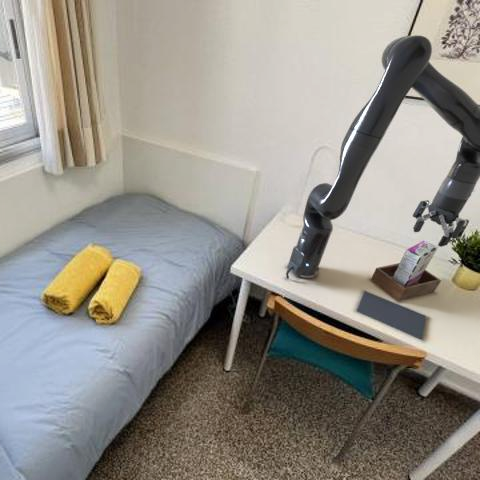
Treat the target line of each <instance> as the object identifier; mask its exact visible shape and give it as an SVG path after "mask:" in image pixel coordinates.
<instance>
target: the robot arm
mask: <svg viewBox="0 0 480 480" xmlns="http://www.w3.org/2000/svg"><path fill="white" fill-rule="evenodd" d="M432 53H433V45H432V42H431V41H430V39H429V38H428V37H426V36H423V35H421V34H420V35H419V34H417V35H414V34H413V35H405V36H401V37H398V38H395V39H394V40H392V41H391V42H390V43H389V44H387V46H386V47H385V48H384V50H383V52H382V54H381V66H382V69H383V70H384V72H383V75H382V77H381V79H380V81H379V83H378V85H377V88H375V89H376V90H375V91H374V93H373V94H372V96H371V97H370V99H368V101H367V102H366V103H365V104H364V106H363V107H362V108H361V109H360V110H359V112H358V113H357V114H356V116H355V117H354V119H353V120H352V122H351V123H350V125H349V127H348V129H347V131H346V133H345V135H344V137H343V140H342V142H341V145H340V149H339V150H340V151H339V161H338V171H337V175H336V178H335V180H334V182H333V184H331V183H329V182H321V183H319V184H317V185H315V186H314V187H313V188H312V189H311V191H310V192H309V195H308V197H307V200H306V203H305V206H304V207H305V208H304V211H303V216H302V221H303V222H302V228H301V230H300V233H299V236H298V240H297V242H296V245H295V246H293V248H292V251H291V254H290V257H289V260H288V262H287V270H286V274H285V278H286V279H287V280H289V279H290V276H289V274H290V272H291V273H292V274H293V275H294V276H295V277H296V278H302V279H312V278H315V277H316V276H317V273H318V271H319V270H320V269H319V267H320V264H321V262H322V260H323V256H324V253H325V251H326V248H327V245H328V243H329V241H330V238H331V236H332V232H333V230H334V227H333V223H332V221H333V220H334V221H335V220H336V219H338V218H340V217H341V216H342V215H343V214H344V213H345V212H346V211H347V208H348V207H349V205H350V203H351V200H352V199H353V196H354V193H355V191H356V189H357V187H358V184H359V182H360V180H361V178H362V177H363V174H364V173H365V171H366V169H367V167H368V165H369V163H370V161H371V159H372V157H373V156H374V154H375V153H376V151H377V149H378V148H379V146H380V144H381V143H382V140H383V139H384V137H385V135H386V133H387V131H388V129H389V127H390V126H391V124H392V122H393V120H394V118H395V117H396V115H397V112H398V111H399V109H400V107H401V105H402V103H403V101H404V100H405V98H406V96H407V95H408V93H409V92H410V90H411V89H412V90H413V91H414V92H415V93H416V94H418V95H419V96H420V97H421V98H422V99H423V100H424V101H425V102H426V103H427V105H428V106H429V107H431V108H432V110H433V111H435V113H436V114H437V115H438V116H439V117H440V118H441V119H442V120H443V121H444V122H445V123H446V124H447V125H448V126H450V127H451V128H452V129H453V130H455V131H456V132H458V133H459V134H460V135H461V136H462V137H461V140H460V142H459V146H458V150H457V152H456V158H455V160H454V162H453V163H452V165H451V167H450V169H449V171H448V173H447V175H446V176H445V178H444V179H443V181H442V182H441V184H440V185H439V188H438V190H437V192H436V193H435V196H434V197H433V199H432V202H431V203H430V200H428V199H427V200H420V202H419V203H418V205H417V206H416V209H414V212H413V213H412V217H413V218H415V219H416V221H415V223H414V225H413V228H412V230H413V232H414V233H420V232H421V230H422V229H423V226H424V224H425V223H426V222H425V221H427V220H430V221H431V222H434V223H435V224H437V225H439V226H441V230H443V234H444V235H442V237H441V239H440V240H439V242H438V244H437V247H440V248H442V247H445V246H446V247H447V246H448V245H449V243H450V241H451V239H454V240H455V239H460V238H462V236H463V234H464V232H465V230H466V228H467V227H468V225H469V224H470V220H469V219H466V218H465V219H464V218H462V217H460V213H461V212H462V210H463V209H464V207H465V205H466V204H467V203H468V200H469V199H470V197H471V196H472V193H473V192H474V191H475V187H476V185H477V184H478V181H479V179H480V105H479V104H478V103H477V102H476V101H475V99H473V98H472V97H471V96H470V95H469V94H468V93H467V92H466V91H465V90H464V89H463V88H461V87H460V86H459V85H457V84H456V83H455V82H453V81H451V80H450V79H449V78H447V77H446V76H445V75H443V74H442V73H441V72H439V70H437V69H436V67H434V65H433V64H432V63H431V62H430V60H431V57H432ZM426 209H427V210H428V213H426V214H424V212H425V211H426ZM455 222H456V223H455ZM454 223H455V224H454ZM455 225H456V226H455Z"/></svg>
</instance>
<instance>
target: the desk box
mask: <svg viewBox="0 0 480 480" xmlns="http://www.w3.org/2000/svg"><path fill="white" fill-rule="evenodd" d="M399 264H400V262H398V263H393V264H388V265H384V266H379V267H378V266H377V267H376V268H375V270H374V272H373V273H372V275H371V278H370V281H371V282H372V283H374V284H375V285H376V286H378V288H380V289H381V290H383V291H384V292H385V293H386V294H388V295H389V296H390V297H391V298H393V299H394V300H395V301H396V302H402V301H406V300H409V299H410V300H411V299H414V298H418V297H422V296H426V295H429V294H434V293H435V291H437V288H438V287H439V285H440V284H441V282H442V279H440V278H439V277H437V276H436V275H434V274H433V273H432V272H430V271H428V270H427V269H425V271H424V273H423V275H422V276H421V278H420V280H419V282H418V283H417V285H413V286H409V287H404V286H402V285H401V284H400V283H398V282H397V281H395V280H394V279H393V278H392V277H393V276H394V274H395V272H396V270H397V268H398V266H399Z"/></svg>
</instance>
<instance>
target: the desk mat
mask: <svg viewBox="0 0 480 480" xmlns="http://www.w3.org/2000/svg"><path fill="white" fill-rule="evenodd" d="M356 312H358V313H360V314H362V315H364V316H366V317H369V318H372V319H373V320H376V321H378V322H380V323H382V324H385V325H387V326H389V327H392V328H394V329H395V330H398V331H400V332H403V333H405V334H408V335H410V336H412V337H415V338H417V339H419V340H423V337H424V332H425V331H424V330H425V327H426V326H425V325H426V320H427V315H425V314H423V313H421V312H417V311H416V310H413V309H410V308H408V307H405V306H403V305H400V304H398V303H395V302H393V301H391V300H388V299H386V298H383V297H381V296H378V295H377V294H373V293H372V292H368V291H366V290H364V292H363V294H362V296H361V299H360V301H359V304H358V306H357V308H356Z"/></svg>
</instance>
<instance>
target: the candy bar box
mask: <svg viewBox="0 0 480 480" xmlns="http://www.w3.org/2000/svg"><path fill="white" fill-rule="evenodd" d="M438 248H439V246H436V245H434V244H432V243H430V242H427V241H426V240H422V241H420V242H418V243H416V244H415V245H413V246H410V247H409V248H407V249H406V250H405V252H404V254H403V256H402V258H401V260H400V262H399V263H400V264H399V266H398V268H397V270H396V272H395V274H394V276H393V277H391V278H393V279H394V280H395V281H397V282H398V283H400V284H401V285H402V286H404V287H409V286H413V285H417V284H419V283H418V282H419V280H420V278H421V276H422V275H423V273H424V271H425V270H427V268H428V266H429V264H430V262H431V260H432V259H433V257H434V255H435V253H436V252H437V250H438Z"/></svg>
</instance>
